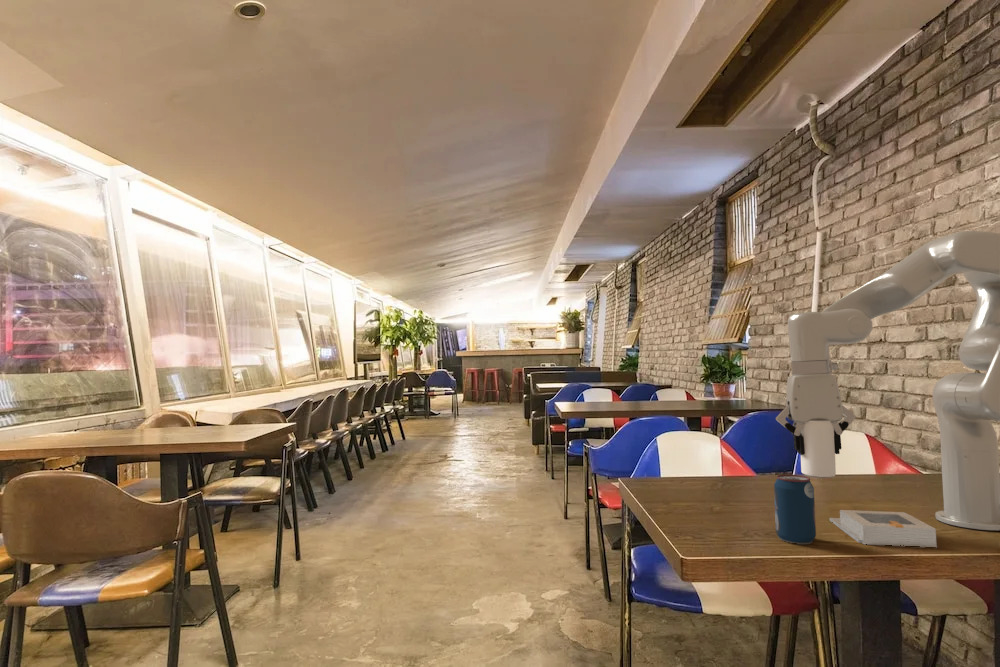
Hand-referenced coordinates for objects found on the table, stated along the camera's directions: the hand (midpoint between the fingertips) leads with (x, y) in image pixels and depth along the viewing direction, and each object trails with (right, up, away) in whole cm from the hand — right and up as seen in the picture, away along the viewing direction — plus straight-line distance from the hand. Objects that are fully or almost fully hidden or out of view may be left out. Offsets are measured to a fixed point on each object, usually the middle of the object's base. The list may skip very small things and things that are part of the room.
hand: (817, 452), depth 123 cm
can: (0, -5, 0) cm, 5 cm away
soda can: (-11, -15, -12) cm, 22 cm away
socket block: (+8, -14, -9) cm, 18 cm away
